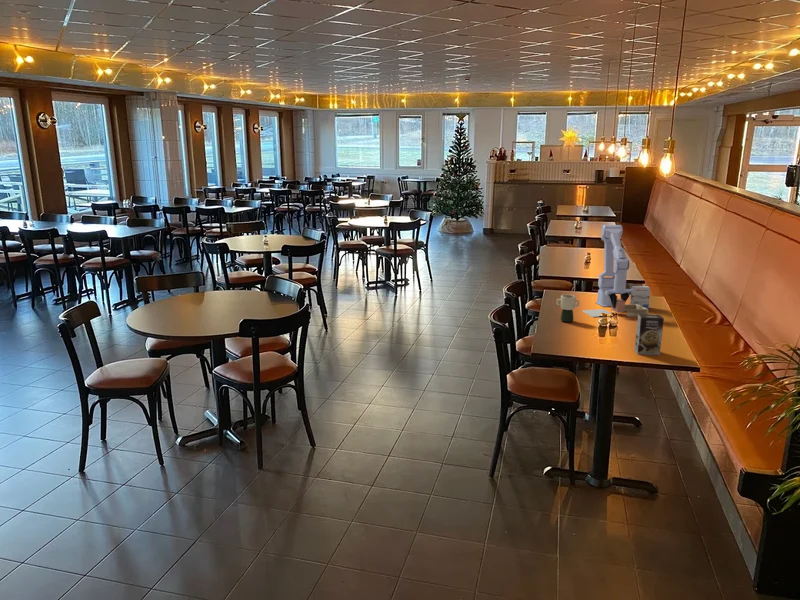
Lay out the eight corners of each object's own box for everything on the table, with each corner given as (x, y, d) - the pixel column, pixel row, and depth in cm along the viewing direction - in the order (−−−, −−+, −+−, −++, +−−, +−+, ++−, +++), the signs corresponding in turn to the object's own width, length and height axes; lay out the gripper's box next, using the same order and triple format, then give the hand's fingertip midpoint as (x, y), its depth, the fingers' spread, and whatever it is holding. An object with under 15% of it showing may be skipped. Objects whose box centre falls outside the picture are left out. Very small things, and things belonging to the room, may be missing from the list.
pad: (582, 311, 318) (582, 310, 317) (603, 310, 319) (603, 309, 319) (593, 317, 306) (593, 316, 306) (614, 316, 308) (615, 315, 308)
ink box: (645, 306, 326) (647, 285, 323) (648, 309, 321) (650, 287, 318) (629, 306, 326) (631, 285, 323) (632, 309, 322) (634, 287, 319)
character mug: (578, 320, 301) (580, 295, 298) (577, 324, 295) (579, 298, 292) (556, 318, 305) (557, 293, 302) (555, 322, 298) (556, 296, 295)
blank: (611, 309, 313) (612, 298, 312) (618, 309, 314) (619, 298, 313) (616, 312, 308) (618, 301, 306) (624, 312, 308) (625, 301, 307)
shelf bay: (616, 311, 317) (616, 304, 316) (635, 310, 319) (636, 303, 318) (627, 317, 306) (628, 310, 305) (647, 315, 308) (648, 309, 307)
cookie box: (637, 354, 251) (641, 317, 247) (634, 349, 257) (637, 313, 253) (660, 355, 249) (664, 318, 245) (656, 350, 255) (660, 314, 251)
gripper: (610, 284, 302) (608, 310, 306) (637, 282, 304) (634, 308, 308) (603, 281, 309) (601, 306, 312) (630, 279, 311) (627, 305, 314)
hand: (617, 307), depth 310 cm, fingers closed on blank, 4 cm apart
